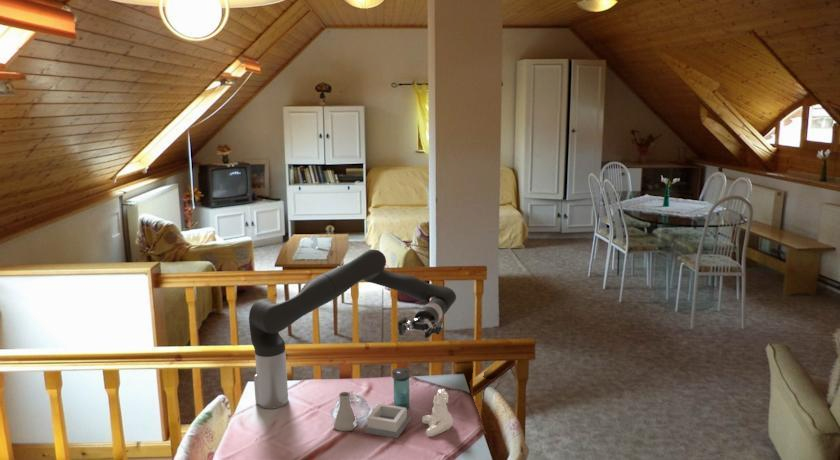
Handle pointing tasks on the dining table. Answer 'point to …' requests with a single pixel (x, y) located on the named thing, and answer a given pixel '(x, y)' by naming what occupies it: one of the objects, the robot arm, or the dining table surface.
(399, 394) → the teal capped jar
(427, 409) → the dining table surface
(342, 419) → the flask
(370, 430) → the dock
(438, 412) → the seated beast figurine
